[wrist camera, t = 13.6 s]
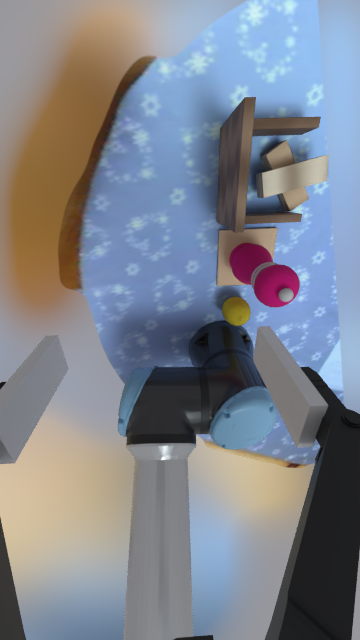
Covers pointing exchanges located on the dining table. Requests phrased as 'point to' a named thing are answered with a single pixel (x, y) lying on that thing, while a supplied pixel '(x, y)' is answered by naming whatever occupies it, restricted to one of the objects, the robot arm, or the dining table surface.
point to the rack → (237, 163)
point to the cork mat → (232, 240)
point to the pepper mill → (264, 275)
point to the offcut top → (292, 177)
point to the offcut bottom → (281, 158)
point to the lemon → (236, 311)
